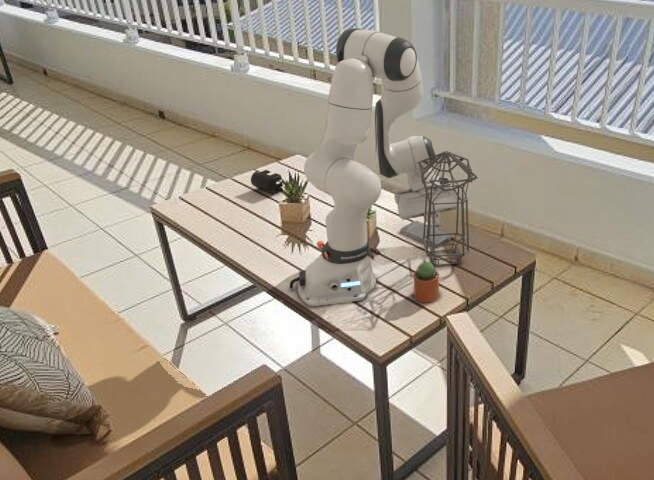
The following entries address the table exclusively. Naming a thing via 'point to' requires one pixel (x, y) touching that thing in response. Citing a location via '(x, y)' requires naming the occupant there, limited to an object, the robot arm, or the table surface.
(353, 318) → the table surface
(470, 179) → the geometric lantern
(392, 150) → the robot arm
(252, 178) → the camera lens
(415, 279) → the succulent pot
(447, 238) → the phone
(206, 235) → the table surface
